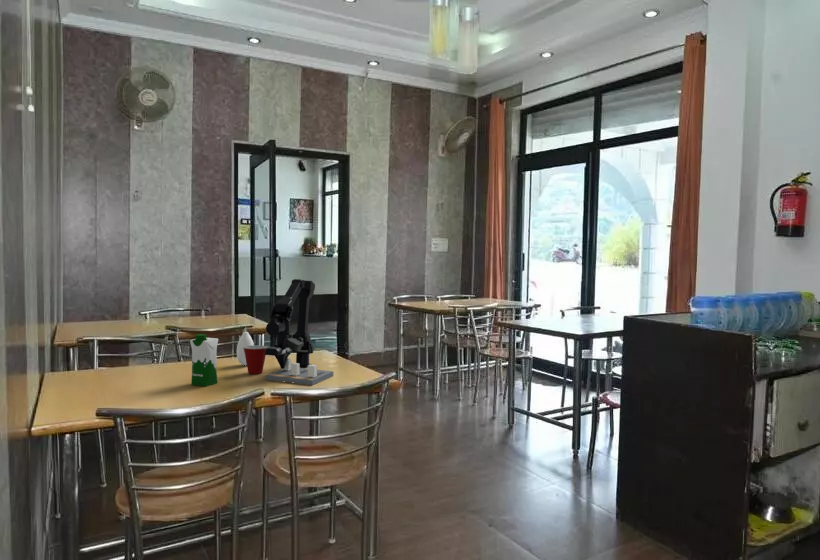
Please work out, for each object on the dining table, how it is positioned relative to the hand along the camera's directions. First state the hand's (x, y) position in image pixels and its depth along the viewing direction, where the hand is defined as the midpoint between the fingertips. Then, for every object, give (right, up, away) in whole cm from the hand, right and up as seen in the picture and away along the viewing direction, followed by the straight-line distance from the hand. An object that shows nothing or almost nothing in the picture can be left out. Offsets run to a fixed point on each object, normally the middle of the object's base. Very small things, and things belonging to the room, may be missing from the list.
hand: (282, 368), depth 239 cm
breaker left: (+14, -2, -9) cm, 16 cm away
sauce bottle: (-22, -2, +20) cm, 30 cm away
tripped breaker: (+1, -1, +3) cm, 3 cm away
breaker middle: (+6, -2, -6) cm, 9 cm away
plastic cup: (-13, -3, +5) cm, 14 cm away
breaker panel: (+8, -4, -2) cm, 9 cm away
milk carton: (-28, -4, -15) cm, 32 cm away
